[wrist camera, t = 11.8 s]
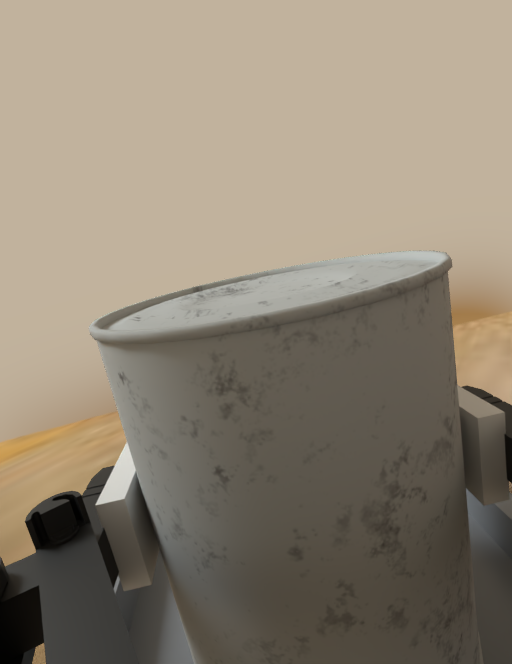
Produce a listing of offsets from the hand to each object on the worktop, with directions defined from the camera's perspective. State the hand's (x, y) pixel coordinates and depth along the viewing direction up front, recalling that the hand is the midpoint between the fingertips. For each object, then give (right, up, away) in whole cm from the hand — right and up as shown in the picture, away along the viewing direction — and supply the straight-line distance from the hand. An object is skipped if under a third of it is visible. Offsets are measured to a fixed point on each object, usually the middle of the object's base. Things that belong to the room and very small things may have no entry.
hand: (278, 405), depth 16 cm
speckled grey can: (+2, -7, -3) cm, 8 cm away
